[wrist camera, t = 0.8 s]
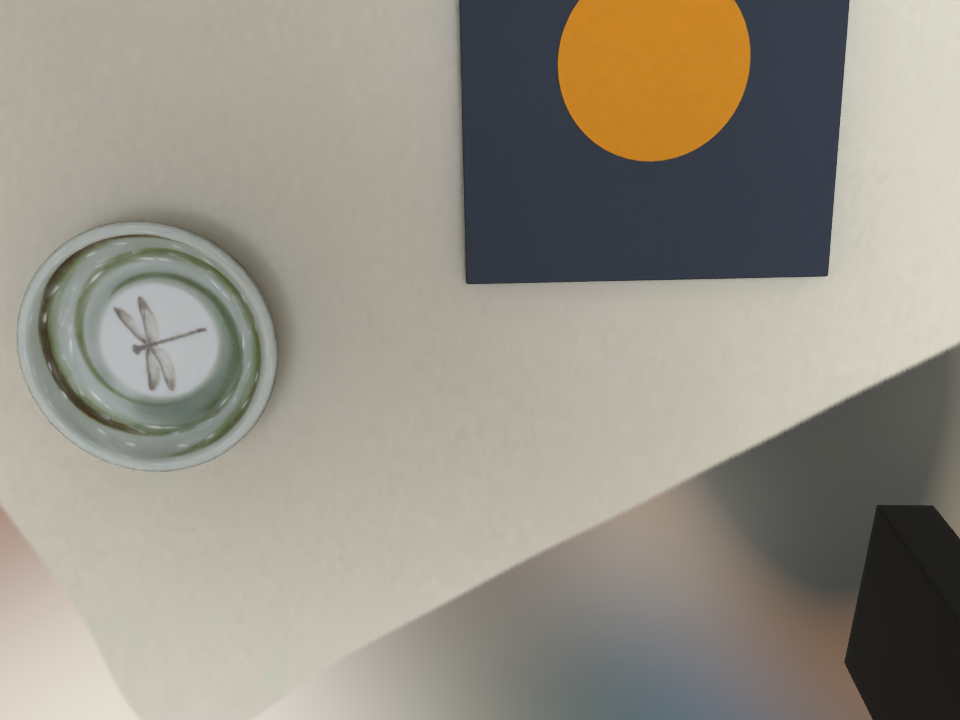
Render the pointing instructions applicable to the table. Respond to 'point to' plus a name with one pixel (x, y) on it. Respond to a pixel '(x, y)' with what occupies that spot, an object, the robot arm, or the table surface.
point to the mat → (649, 138)
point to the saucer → (147, 346)
